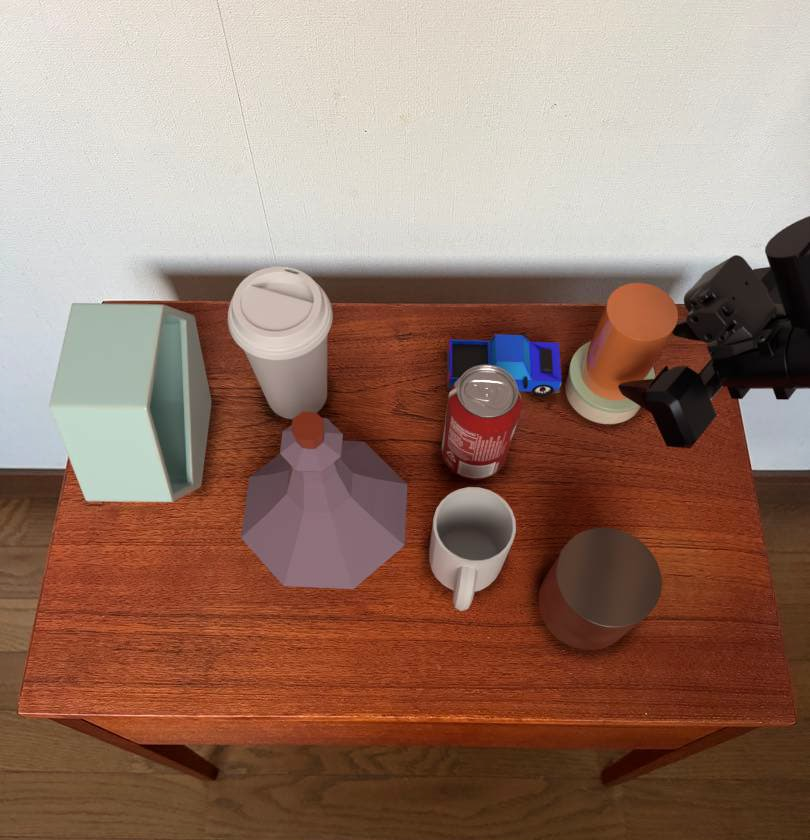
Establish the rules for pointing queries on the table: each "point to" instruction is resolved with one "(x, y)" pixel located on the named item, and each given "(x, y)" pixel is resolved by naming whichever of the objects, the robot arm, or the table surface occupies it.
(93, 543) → the table surface
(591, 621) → the metal cylinder
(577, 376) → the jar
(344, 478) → the flask
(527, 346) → the toy car
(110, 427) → the planter
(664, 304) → the orange cylinder
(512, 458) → the table surface
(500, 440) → the soda can
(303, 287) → the coffee cup
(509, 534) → the cup
